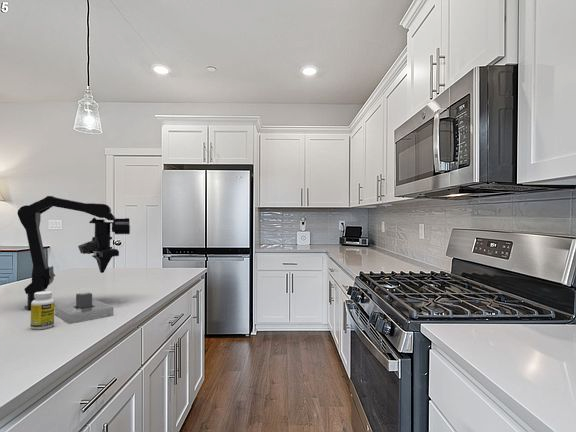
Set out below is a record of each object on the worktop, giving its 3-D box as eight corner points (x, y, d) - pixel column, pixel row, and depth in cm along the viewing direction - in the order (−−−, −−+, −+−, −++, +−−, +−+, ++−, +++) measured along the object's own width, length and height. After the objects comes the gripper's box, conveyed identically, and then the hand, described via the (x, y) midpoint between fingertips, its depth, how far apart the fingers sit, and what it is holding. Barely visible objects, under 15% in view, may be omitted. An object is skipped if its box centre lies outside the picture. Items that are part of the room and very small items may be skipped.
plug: (88, 311, 130) (88, 291, 130) (92, 313, 128) (92, 293, 128) (75, 313, 127) (76, 292, 127) (79, 315, 125) (80, 294, 125)
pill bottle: (42, 330, 109) (42, 295, 109) (25, 329, 111) (26, 293, 111) (58, 325, 115) (59, 291, 115) (42, 323, 117) (43, 290, 117)
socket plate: (54, 314, 128) (55, 303, 128) (96, 307, 138) (96, 297, 138) (69, 323, 117) (69, 312, 117) (113, 315, 127) (113, 304, 127)
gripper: (72, 234, 145) (72, 272, 145) (89, 236, 133) (88, 277, 133) (101, 233, 154) (101, 269, 154) (119, 235, 141) (119, 274, 141)
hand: (102, 272), depth 145 cm, fingers closed
